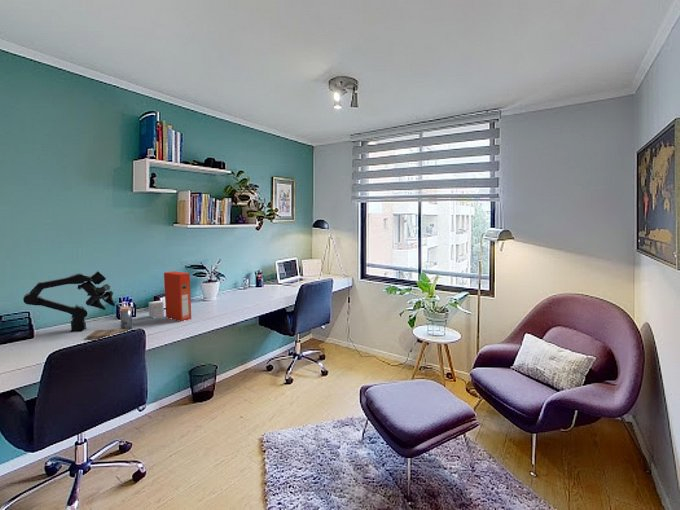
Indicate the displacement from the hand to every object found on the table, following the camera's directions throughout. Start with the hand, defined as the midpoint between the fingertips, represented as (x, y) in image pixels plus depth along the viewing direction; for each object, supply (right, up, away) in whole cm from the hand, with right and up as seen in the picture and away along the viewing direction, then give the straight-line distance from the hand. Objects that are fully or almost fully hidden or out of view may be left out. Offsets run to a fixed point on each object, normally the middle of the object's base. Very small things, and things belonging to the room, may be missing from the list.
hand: (109, 307), depth 225 cm
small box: (+14, -11, +30) cm, 35 cm away
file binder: (+31, -12, +26) cm, 42 cm away
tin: (+10, -14, +1) cm, 17 cm away
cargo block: (+10, -2, -1) cm, 10 cm away
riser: (+7, -15, -12) cm, 20 cm away
